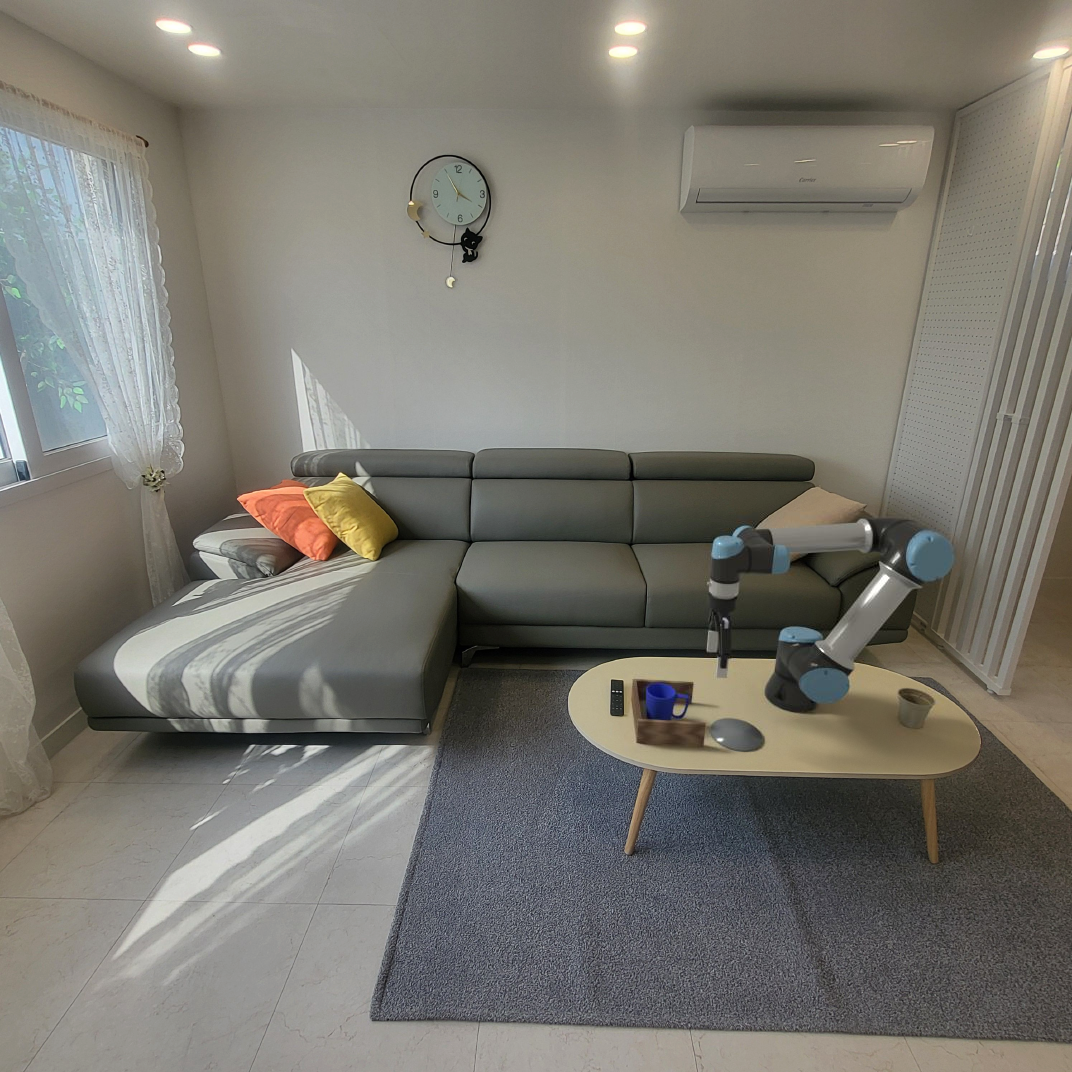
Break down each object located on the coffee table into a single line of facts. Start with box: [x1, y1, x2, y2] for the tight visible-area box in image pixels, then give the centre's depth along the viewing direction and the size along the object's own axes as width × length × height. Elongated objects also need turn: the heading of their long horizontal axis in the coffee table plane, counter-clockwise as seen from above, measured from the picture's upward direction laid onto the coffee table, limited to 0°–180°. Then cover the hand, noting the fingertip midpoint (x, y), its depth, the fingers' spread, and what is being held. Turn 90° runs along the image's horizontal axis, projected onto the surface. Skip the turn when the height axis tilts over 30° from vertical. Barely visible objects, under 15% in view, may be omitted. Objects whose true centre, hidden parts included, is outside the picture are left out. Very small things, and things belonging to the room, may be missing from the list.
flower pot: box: [896, 687, 936, 729], centre depth 175 cm, size 9×9×9 cm
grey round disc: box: [709, 717, 764, 753], centre depth 170 cm, size 14×14×1 cm
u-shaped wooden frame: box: [630, 678, 707, 748], centre depth 175 cm, size 18×21×7 cm
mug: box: [645, 683, 690, 721], centre depth 174 cm, size 8×12×10 cm
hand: (716, 663), depth 169 cm, fingers open, 13 cm apart
